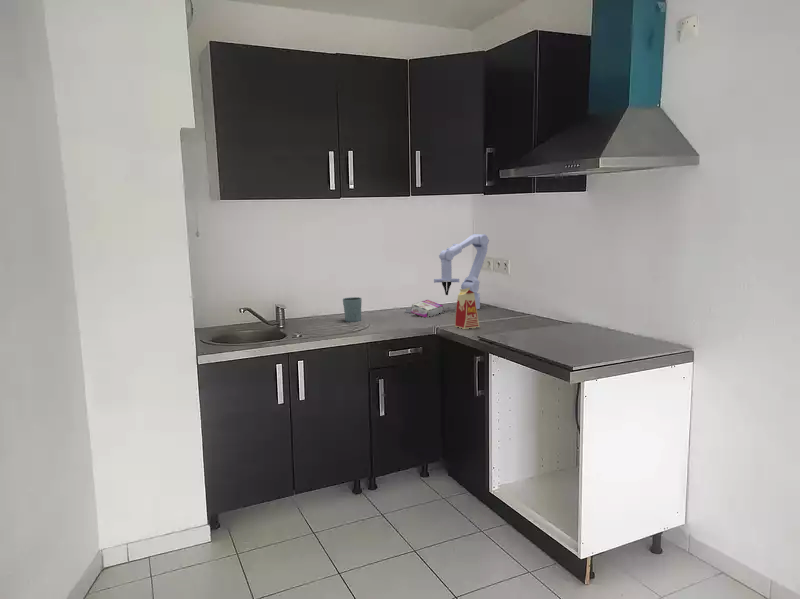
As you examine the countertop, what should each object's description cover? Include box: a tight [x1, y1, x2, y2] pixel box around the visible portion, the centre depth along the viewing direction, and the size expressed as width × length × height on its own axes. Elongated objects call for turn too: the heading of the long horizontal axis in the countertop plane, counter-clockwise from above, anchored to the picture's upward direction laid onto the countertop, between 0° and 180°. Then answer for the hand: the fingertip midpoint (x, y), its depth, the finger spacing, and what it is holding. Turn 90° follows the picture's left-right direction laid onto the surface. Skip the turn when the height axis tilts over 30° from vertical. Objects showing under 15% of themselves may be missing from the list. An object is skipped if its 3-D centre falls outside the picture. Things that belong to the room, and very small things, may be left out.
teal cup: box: [342, 296, 362, 323], centre depth 314 cm, size 10×10×12 cm
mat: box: [404, 308, 413, 314], centre depth 339 cm, size 15×13×1 cm
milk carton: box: [454, 288, 480, 330], centre depth 288 cm, size 9×9×20 cm
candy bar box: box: [410, 299, 444, 318], centre depth 327 cm, size 11×5×16 cm
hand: (446, 294), depth 336 cm, fingers closed
